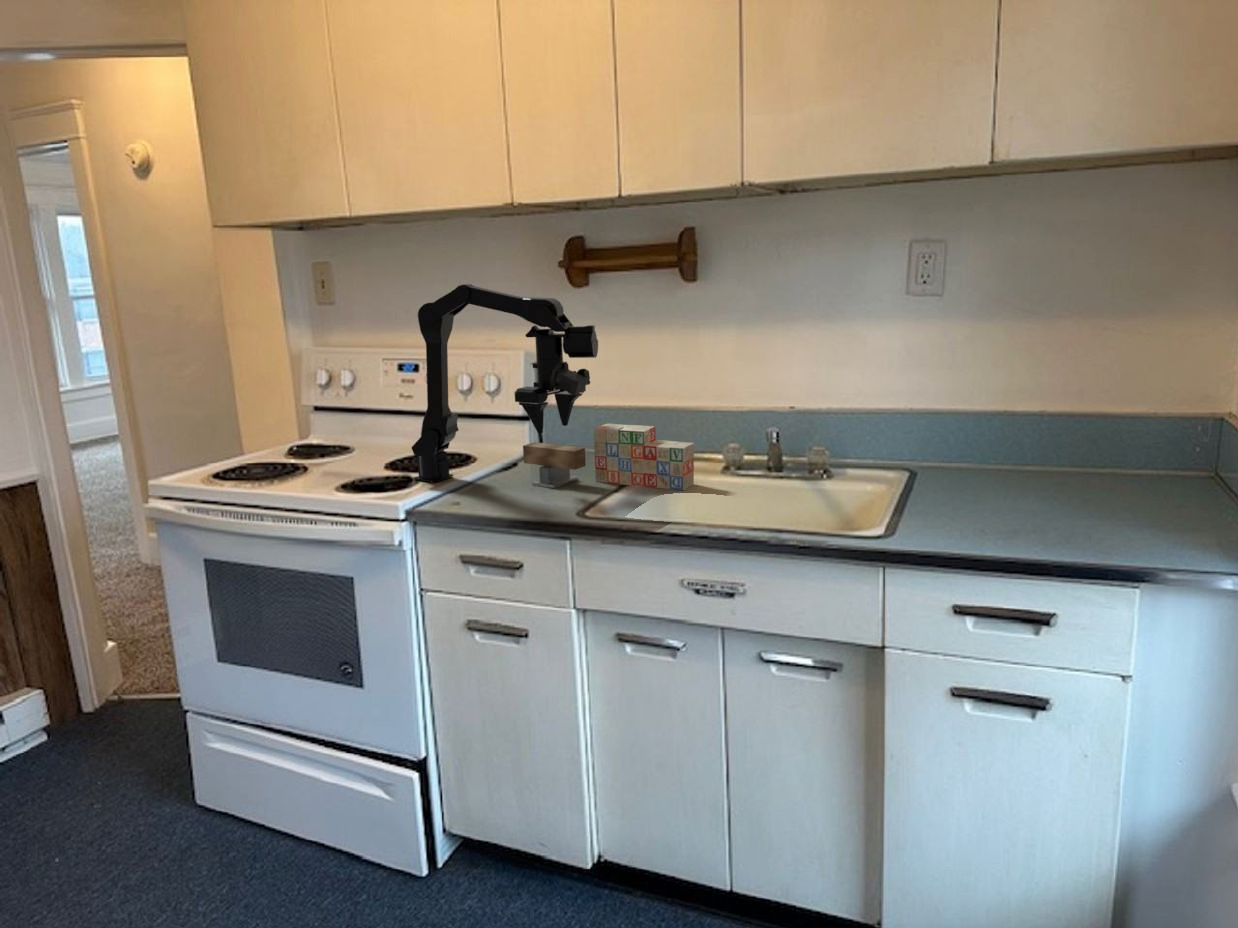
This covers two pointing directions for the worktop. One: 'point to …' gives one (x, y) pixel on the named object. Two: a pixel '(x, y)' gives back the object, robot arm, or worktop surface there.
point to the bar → (554, 455)
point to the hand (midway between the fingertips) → (552, 429)
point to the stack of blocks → (641, 458)
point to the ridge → (554, 477)
